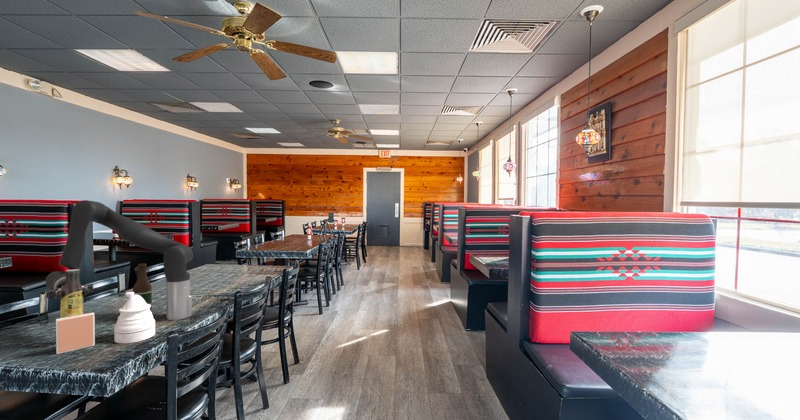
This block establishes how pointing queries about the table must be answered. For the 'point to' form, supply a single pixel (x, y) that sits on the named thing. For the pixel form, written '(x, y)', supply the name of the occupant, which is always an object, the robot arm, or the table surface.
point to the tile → (75, 332)
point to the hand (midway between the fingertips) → (73, 294)
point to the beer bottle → (143, 285)
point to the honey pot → (134, 321)
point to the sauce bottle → (71, 295)
